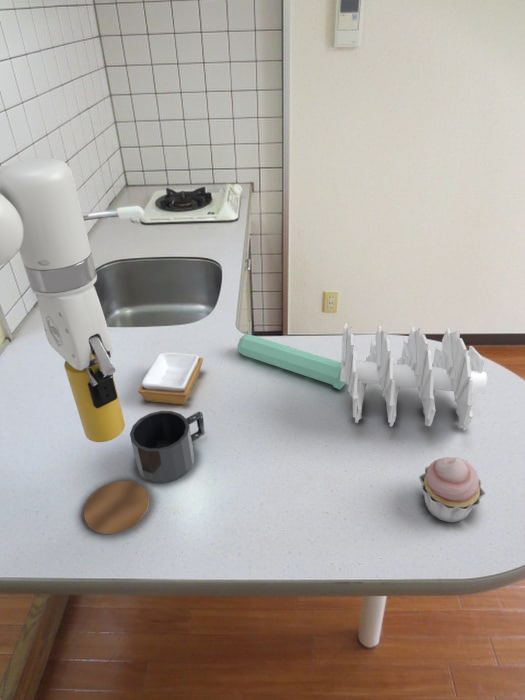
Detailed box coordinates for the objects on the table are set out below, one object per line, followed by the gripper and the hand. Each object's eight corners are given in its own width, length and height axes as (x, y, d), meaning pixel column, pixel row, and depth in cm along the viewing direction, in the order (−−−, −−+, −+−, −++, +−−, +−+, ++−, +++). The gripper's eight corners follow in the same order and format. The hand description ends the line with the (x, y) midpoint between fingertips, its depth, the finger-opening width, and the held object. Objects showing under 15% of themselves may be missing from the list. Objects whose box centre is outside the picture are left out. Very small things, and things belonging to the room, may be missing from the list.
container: (235, 331, 113) (340, 364, 101) (250, 329, 118) (352, 359, 106) (231, 357, 115) (334, 392, 103) (246, 354, 120) (346, 387, 108)
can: (76, 438, 74) (55, 369, 67) (99, 412, 78) (80, 345, 72) (111, 445, 72) (92, 376, 66) (132, 419, 77) (116, 351, 70)
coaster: (71, 525, 80) (70, 522, 80) (107, 477, 88) (106, 475, 88) (128, 541, 78) (127, 539, 77) (160, 490, 85) (159, 488, 85)
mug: (157, 493, 85) (150, 460, 81) (127, 461, 91) (119, 429, 87) (221, 452, 92) (217, 420, 88) (190, 425, 98) (185, 394, 94)
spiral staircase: (472, 449, 96) (334, 435, 98) (465, 364, 104) (339, 353, 107) (508, 408, 80) (343, 393, 82) (496, 312, 89) (348, 301, 91)
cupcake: (461, 478, 85) (472, 433, 79) (489, 526, 77) (505, 480, 72) (405, 486, 84) (413, 441, 78) (429, 535, 76) (439, 489, 71)
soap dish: (188, 410, 102) (185, 389, 99) (140, 405, 103) (135, 385, 100) (205, 371, 112) (202, 352, 109) (161, 368, 113) (157, 349, 111)
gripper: (3, 259, 65) (43, 376, 75) (62, 308, 54) (99, 437, 64) (61, 242, 69) (91, 355, 79) (126, 284, 58) (152, 409, 68)
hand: (94, 391), depth 71 cm, fingers closed on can, 5 cm apart
